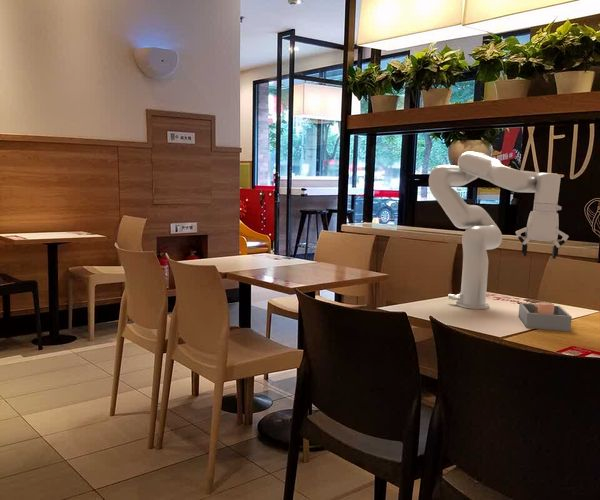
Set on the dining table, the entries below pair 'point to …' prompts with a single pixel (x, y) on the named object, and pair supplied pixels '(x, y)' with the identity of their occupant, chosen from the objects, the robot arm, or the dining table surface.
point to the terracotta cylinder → (545, 308)
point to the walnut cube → (535, 308)
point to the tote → (545, 318)
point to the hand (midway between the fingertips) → (539, 256)
